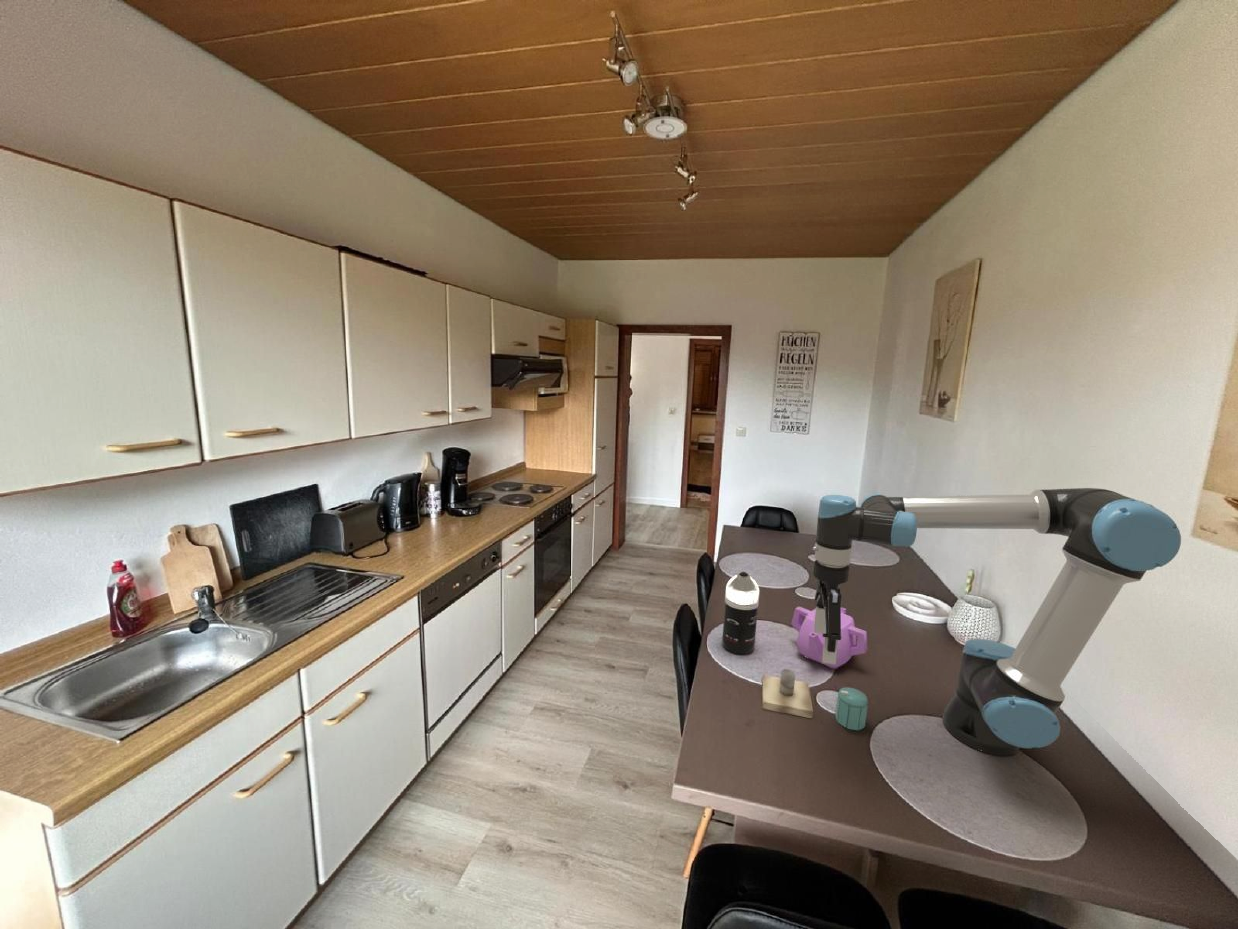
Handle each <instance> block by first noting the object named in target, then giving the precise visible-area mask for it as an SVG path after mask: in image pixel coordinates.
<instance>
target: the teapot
mask: <svg viewBox="0 0 1238 929" xmlns="http://www.w3.org/2000/svg"><path fill="white" fill-rule="evenodd" d="M815 610H816V608H814V609H813V610H809V609H807V608H804V607H802V606H800V605H799V606H797V607H796V608H795V609H794V612H793V615H792V619H791V623H790V625H791V626H792V627H793V628H794V629H795V631H796V632H797V633H798V636H797V641H796V642H797V643H796V647H797V650H798V652H799V654H801V655H804V656H806V657H808V658H807V659H809V658H810V659H811V660H812V661H815V662H817V663H819V664H822V665H825V666H826V667H827V668H829V669H831V670H837V669H838V668H839V667H841V666H843V665H845V664H846V663H848V661H849V660H850V659H851V658H852V656H856V655H858V656H859V655H865V654H866V653H867V651H868V638H867V634H868V633H867V631H866V630H863V629H861V628H858V627H856V626H855V621H854V617H852V616H851V615H848V614H846V613H847V608H844V607H842V606H841V640H838V645H837V656H836V664H829V663H823V662H822V657H823V647H824V637H823V634H822V633H814V622H815ZM803 617H805V618H804V620H803ZM804 656H803V657H804ZM806 657H805V658H806Z"/></svg>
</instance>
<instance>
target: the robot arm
mask: <svg viewBox="0 0 1238 929" xmlns="http://www.w3.org/2000/svg"><path fill="white" fill-rule="evenodd" d="M816 524H817V525H816V526H817V527H816V537H815V538H816V539H815V546H812V551H814V559H815V560H814V562H813V572H812V574H813V576H814V578H815V579H817V580H818V581H817V586H816V589H815V590H816V591H815V596H814V601H815V602H814V603H815V606H816V607H815V609H816V610H815V622H814V633H822V634H823V637H824V647H823V657H822V662H823V663H829V664H836V656H837V645H838V640H841V607H842V604H841V602H842V593H841V589H840V588H839V585H841V584H842V585H843V584H845V583H847V582H848V581H849V576H850V564H851V558H852V548H853V547H852V546H853V545H852V544H853V541H856V542H863V543H864V542H865V543H870V544H871V543H872V544H879V545H880V544H881V545H887V546H892V547H897V546H898V547H912V546H913V545H914V544H915V542H916V538H917V533H918V529H959V530H961V529H976V530H977V529H979V530H982V529H983V530H985V529H989V530H991V529H992V530H995V529H997V530H1005V529H1006V530H1008V529H1010V530H1034V531H1035V532H1037V533H1038V534H1044V535H1046V534H1047V535H1058V536H1059V535H1060V536H1064V537H1067V539H1066V540H1065V543H1064V544H1063V547H1062V548H1061V551H1062V553H1063V554H1064V557H1065V559H1066V560H1065V561H1066V562H1065V563H1064V565H1063V566H1062V568H1061V570H1060V572H1059V574H1058V575H1057V577H1056V578H1055V580H1054V582H1053V584H1052V586H1051V587H1050V589H1049V590H1048V592H1047V593H1046V596H1045V598H1044V599H1043V601H1042V603H1040V606H1039V608H1038V610H1037V611H1036V613H1035V614H1034V616H1033V618H1032V619H1031V621H1030V623H1029V625H1028V626H1027V628H1026V630H1025V632H1024V633H1023V635H1022V637H1021V638H1020V640H1019V643H1018V644H1017V646H1016V647H1013V646H1010V645H1008V644H1005V643H1002V642H999V641H993V640H989V639H985V638H984V639H983V638H973V639H972V638H971V639H968V640H967V641H966V642H965V643H964V645H963V650H961V651H962V655H961V656H962V657H961V660H960V661H961V662H960V668H959V674H958V679H957V686H956V692H955V694H954V695H953V696H952V698H951V700H950V701H949V702H948V704H947V705H946V707H944V711H943V715H942V724H943V725H944V728H946V730H947V731H948V732H949V733H950V735H952V736H953V737H954V736H955V737H954V738H956V739H957V740H958V739H959V740H958V741H960V742H961V743H963V744H964V745H966V744H967V746H969V747H970V746H972V747H974V748H975V750H977V749H979V750H982V751H984V752H983V753H985V752H986V753H985V754H988V753H992V754H994V755H993V756H998V755H999V756H1000V757H1010V756H1013V755H1014V756H1015V755H1016V754H1017V753H1018V752H1019V751H1020V748H1021V749H1022V748H1023V749H1032V748H1039V749H1040V748H1044V747H1047V746H1049V745H1051V744H1053V743H1054V742H1055V741H1056V740H1057V739H1058V737H1059V736H1060V732H1061V726H1060V725H1061V724H1060V722H1059V721H1060V720H1059V718H1058V717H1057V715H1056V713H1057V712H1058V710H1059V709H1060V707H1061V705H1062V704H1063V703H1064V701H1065V699H1066V695H1065V693H1064V691H1063V689H1062V687H1061V685H1062V683H1063V682H1064V680H1065V679H1066V677H1067V675H1068V674H1069V673H1070V671H1071V669H1072V668H1073V666H1074V664H1075V663H1076V662H1077V660H1078V658H1079V657H1080V654H1082V652H1083V650H1084V648H1085V647H1086V645H1087V643H1088V642H1089V641H1090V639H1091V638H1092V636H1093V635H1094V632H1095V631H1096V629H1097V628H1098V626H1099V624H1100V623H1101V622H1102V620H1103V618H1104V617H1105V615H1106V614H1107V612H1108V610H1109V608H1110V607H1111V606H1112V604H1113V603H1114V601H1115V599H1116V598H1117V596H1118V595H1119V593H1120V591H1121V589H1122V588H1123V587H1124V585H1126V584H1129V583H1134V582H1135V583H1136V582H1140V581H1141V580H1142V578H1143V577H1144V575H1145V574H1146V572H1147V571H1153V570H1155V569H1156V568H1161V567H1164V566H1166V565H1167V564H1169V563H1170V562H1171V561H1172V560H1173V559H1175V557H1176V556H1177V555H1178V553H1179V551H1180V549H1181V548H1180V547H1181V544H1182V536H1181V532H1180V531H1181V530H1180V529H1179V527H1178V526H1177V523H1176V522H1175V521H1174V520H1173V519H1172V517H1171V516H1169V515H1168V514H1167V513H1165V512H1164V511H1162V510H1161V509H1159V508H1156V507H1155V506H1154V505H1152V504H1149V503H1147V502H1145V501H1142V500H1139V499H1135V498H1132V497H1129V496H1126V495H1124V494H1121V493H1118V492H1116V491H1114V490H1110V489H1106V488H1098V487H1097V488H1095V487H1082V488H1081V487H1079V488H1056V489H1055V488H1054V489H1051V488H1050V489H1035V490H1034V491H1032V493H1030V494H991V495H990V494H989V495H988V494H987V495H947V496H946V495H940V496H938V495H936V496H933V495H930V496H886V495H884V494H880V493H871V494H870V495H867V496H866V497H865V498H863V500H862V501H861V503H860V506H857V501H856V500H855V498H853V497H852V496H846V495H841V494H829V495H828V494H827V495H823V496H822V497H821V498H820V500H819V507H818V513H817V523H816ZM972 747H971V748H972ZM974 748H973V749H974ZM979 750H978V751H979ZM982 751H981V752H982ZM992 754H991V755H992Z"/></svg>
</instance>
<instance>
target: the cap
mask: <svg viewBox="0 0 1238 929" xmlns="http://www.w3.org/2000/svg"><path fill="white" fill-rule="evenodd" d="M835 706H836V708H835V715H834V716H835V719H836V722H837V723H838V724H840V725H841V726H842V727H844V728H846V729H848V730H852V731H854V730H855V731H860V730H862V729H864V728H865V727H866V721H867V720H866V719H867V714H868V707H869V704H868V697H867V695H866V694H865V693H864V692H863V691H860V690H859V689H856V688H854V687H850V686H849V687H845V686H844V687H841V688H840V689H839V691H838V693H837V699H836V705H835Z"/></svg>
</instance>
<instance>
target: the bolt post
mask: <svg viewBox="0 0 1238 929" xmlns="http://www.w3.org/2000/svg"><path fill="white" fill-rule="evenodd" d="M761 676H762V677H761V695H762V696H761V697H762V698H761V699H762V700H761V701H762V702H761V703H762V704H761V705H762V710H767V711H772V712H776V713H783V714H787V715H793V716H797V717H798V716H799V717H803V718H808V719H813V716H814V709H813V703H812V698H811V692H810V686H809V682H806V681H801V680H800V681H799V680H796V673H795V671H793V670H791V669H788V668H785V669H782V670H781V672H780V677H778V676H777V677H776V676H774V675H773V676H771V675H766V674H762V675H761Z"/></svg>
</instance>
